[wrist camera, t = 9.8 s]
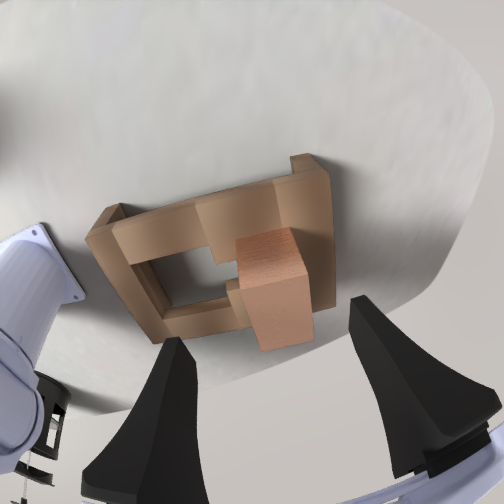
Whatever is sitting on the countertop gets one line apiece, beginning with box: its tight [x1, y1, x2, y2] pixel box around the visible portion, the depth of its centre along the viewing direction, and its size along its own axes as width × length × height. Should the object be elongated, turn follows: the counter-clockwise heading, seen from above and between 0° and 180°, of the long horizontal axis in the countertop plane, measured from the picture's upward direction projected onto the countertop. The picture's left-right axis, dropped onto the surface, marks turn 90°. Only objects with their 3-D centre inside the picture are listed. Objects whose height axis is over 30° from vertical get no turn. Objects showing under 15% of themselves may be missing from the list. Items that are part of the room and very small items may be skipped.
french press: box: [11, 371, 71, 504], centre depth 23 cm, size 12×9×23 cm
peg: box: [235, 227, 314, 352], centre depth 17 cm, size 4×5×7 cm
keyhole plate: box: [85, 153, 336, 344], centre depth 19 cm, size 14×10×4 cm
